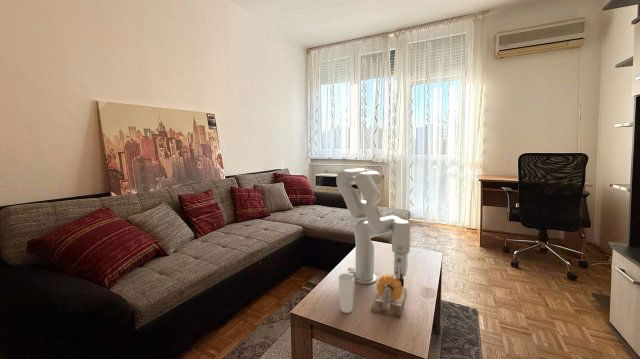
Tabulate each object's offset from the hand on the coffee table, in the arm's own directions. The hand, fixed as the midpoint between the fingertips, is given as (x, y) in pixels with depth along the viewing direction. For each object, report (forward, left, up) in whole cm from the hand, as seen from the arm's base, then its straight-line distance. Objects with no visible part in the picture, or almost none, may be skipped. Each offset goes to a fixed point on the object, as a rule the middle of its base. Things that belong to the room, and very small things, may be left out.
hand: (399, 286), depth 125 cm
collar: (-4, -4, -5) cm, 7 cm away
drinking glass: (-20, -16, -7) cm, 26 cm away
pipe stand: (-4, -2, -7) cm, 8 cm away
